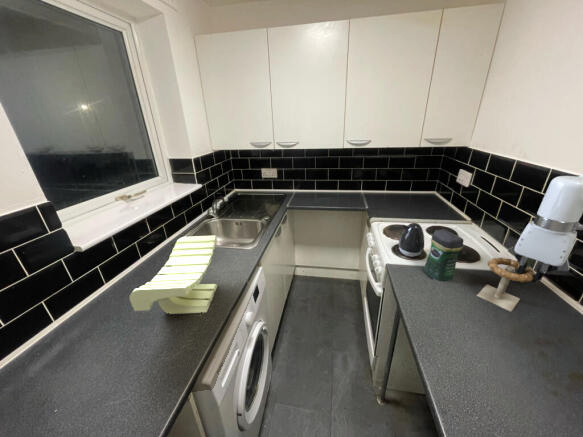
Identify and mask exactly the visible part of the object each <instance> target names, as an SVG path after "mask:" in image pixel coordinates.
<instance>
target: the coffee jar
mask: <svg viewBox="0 0 583 437" xmlns="http://www.w3.org/2000/svg"><path fill="white" fill-rule="evenodd" d="M430 239H431V240H430V249H429V253H428V256H427V259H426V262H425V264H424V268H423V269H424V272H425V273H426V275H428V276H429V277H430V278H431V279H432V280H436V281H438V282H450V281H453V279H454V276H455V272H456V266H457V262H458V261H457V260H458V257H459V253H460V251H462V249H463V247H464V238H462V237H461V236H459V235H457V234H455V233H453V232H452V231H449V230H447V229H446V228H443V229H435V231H433V233H432V236H431V238H430Z"/></svg>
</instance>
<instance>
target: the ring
mask: <svg viewBox="0 0 583 437" xmlns="http://www.w3.org/2000/svg"><path fill="white" fill-rule="evenodd" d="M499 265H500V266H501V265H503V266H512V267H514V268H517V269H518V268H519V265H520V264H519V262H518V261H517V260H516V259H515V260H514V259H512V258H506V257H493V258H491V259H490V260H488V261H487V266H488V268H489V270H490V271H491V272H493V273H494V274H496V275H497V276H499V277H500V278H502V277H504V278H506V279H509V280H510V281H514V282H517V283H521V282H523V283H528V282H532V280H533V278H534V276H535V274H536V272H534V270H533V269H532V268H531V266H530V267H528V266H527V268H526V270H525V272H524V274H515V273H511V272H508V271H506V270H505V269H504V268H502V267H500V266H499Z"/></svg>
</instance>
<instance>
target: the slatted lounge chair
mask: <svg viewBox="0 0 583 437" xmlns="http://www.w3.org/2000/svg"><path fill="white" fill-rule="evenodd" d="M217 242H218V240H217V235H215V234H214V235H193V236H182V237H179V238H178V239H177V240H176V242H175V244H174V247H173V248H172V252H171V253H170V255H169V258H168V260H167V261H166V262H165V264H163V265H164V266H162V267H161V269H160V270H159V271H158V272H157V273H156V275H155V276H154V277H153V278H152V279H151V280H150V281H147V282H146V283H145V284H144V285H141V286H139V287H138V288H134V289H133V291H132V292H131V293H130V294H129V301H130V304H131V307H132V308H133V311H134V312H144V311H145V312H146V311H151V309H152V308H153V305H154V303H155V302H157V304H158V305H159V307H160V308H161V310H162V311H163V312H164V313H165V314H168V313H169V314H168V315H175V314H176V315H178V314H179V315H180V314H197V313H199V314H201V312H202V313H207V312H208V310H209V308H210V305H211V303H212V301H213V298H214V296H215V293H216V291H217V289H218V285H217V283H201V281H202V279H203V278H204V275H205V274H206V272H207V270H208V267H209V266H210V264H211V262H212V259H213V258H212V257H213V255H214V251H215V249H216V244H217Z"/></svg>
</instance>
